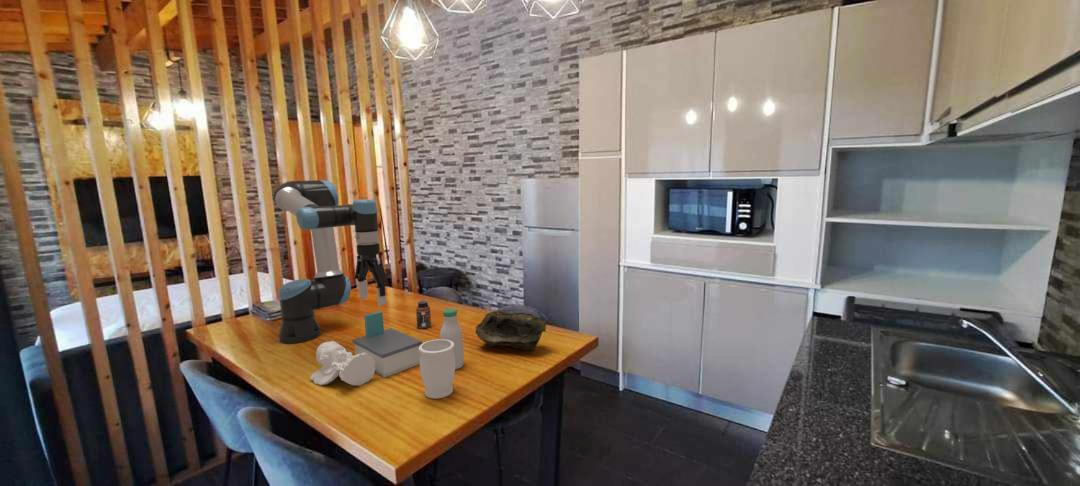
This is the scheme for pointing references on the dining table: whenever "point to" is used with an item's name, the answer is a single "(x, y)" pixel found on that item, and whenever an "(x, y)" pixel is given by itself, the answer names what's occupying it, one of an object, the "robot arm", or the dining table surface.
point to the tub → (393, 361)
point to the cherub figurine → (342, 365)
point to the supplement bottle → (423, 315)
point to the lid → (383, 338)
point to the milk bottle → (453, 335)
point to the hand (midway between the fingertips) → (372, 301)
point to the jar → (437, 367)
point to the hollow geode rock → (511, 330)
